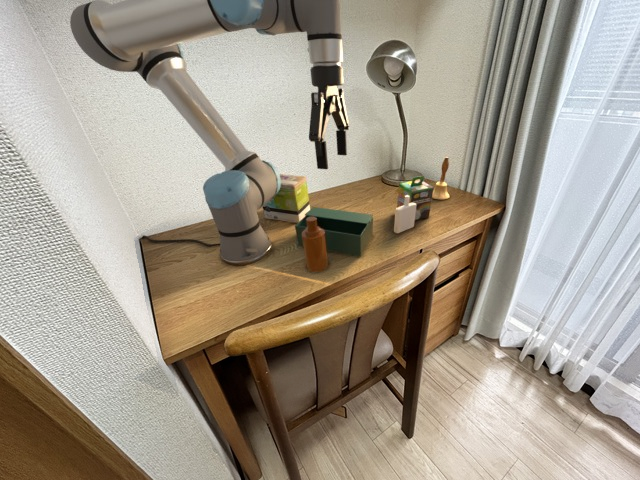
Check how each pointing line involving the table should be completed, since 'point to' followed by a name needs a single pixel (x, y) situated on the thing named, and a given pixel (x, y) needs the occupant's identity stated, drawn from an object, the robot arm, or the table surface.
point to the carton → (341, 235)
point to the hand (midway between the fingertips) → (333, 161)
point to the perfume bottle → (405, 216)
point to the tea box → (289, 200)
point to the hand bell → (442, 183)
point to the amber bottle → (314, 246)
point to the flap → (339, 215)
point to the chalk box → (416, 196)
